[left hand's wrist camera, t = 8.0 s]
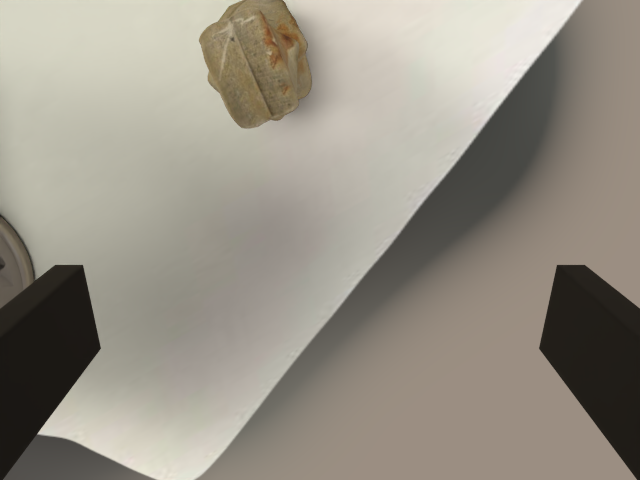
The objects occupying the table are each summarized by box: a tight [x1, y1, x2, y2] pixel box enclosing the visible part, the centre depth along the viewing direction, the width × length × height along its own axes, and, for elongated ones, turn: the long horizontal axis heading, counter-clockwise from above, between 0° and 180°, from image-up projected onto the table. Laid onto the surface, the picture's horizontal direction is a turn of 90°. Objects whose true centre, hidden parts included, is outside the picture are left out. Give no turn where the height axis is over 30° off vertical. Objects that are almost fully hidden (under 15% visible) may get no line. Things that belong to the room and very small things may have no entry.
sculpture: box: [199, 0, 312, 128], centre depth 27 cm, size 6×7×15 cm
